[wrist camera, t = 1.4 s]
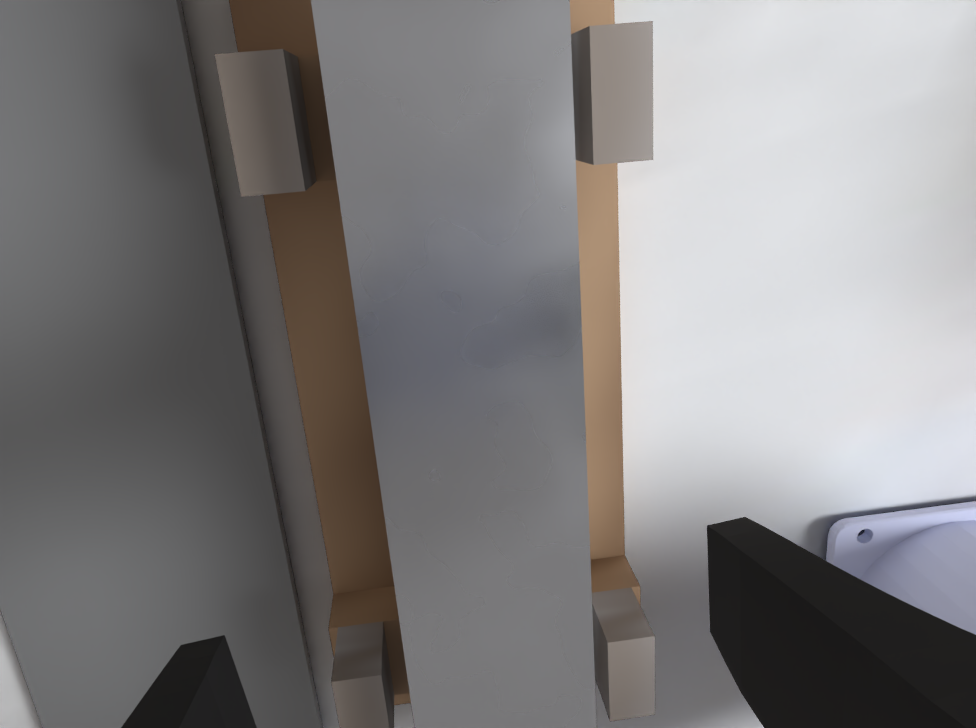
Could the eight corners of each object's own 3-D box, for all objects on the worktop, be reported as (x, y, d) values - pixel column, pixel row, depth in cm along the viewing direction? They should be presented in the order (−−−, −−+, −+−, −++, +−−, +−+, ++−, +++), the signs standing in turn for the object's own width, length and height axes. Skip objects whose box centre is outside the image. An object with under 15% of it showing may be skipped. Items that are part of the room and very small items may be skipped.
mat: (158, -113, 16) (153, -118, 16) (325, 741, 24) (324, 751, 24) (-236, -91, 15) (-253, -95, 15) (70, 779, 23) (64, 790, 23)
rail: (520, -112, 15) (562, -190, 11) (567, 745, 22) (602, 877, 18) (316, -101, 14) (286, -176, 10) (432, 766, 22) (439, 904, 18)
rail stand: (601, -40, 17) (666, -88, 13) (618, 649, 24) (664, 764, 20) (235, -14, 17) (178, -57, 13) (356, 687, 23) (345, 814, 19)
